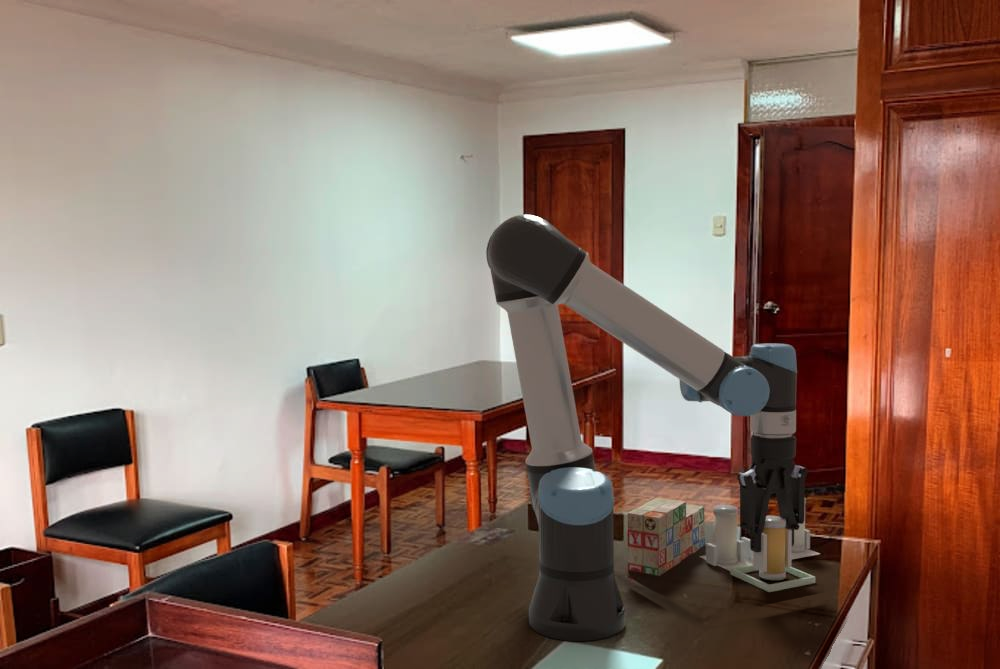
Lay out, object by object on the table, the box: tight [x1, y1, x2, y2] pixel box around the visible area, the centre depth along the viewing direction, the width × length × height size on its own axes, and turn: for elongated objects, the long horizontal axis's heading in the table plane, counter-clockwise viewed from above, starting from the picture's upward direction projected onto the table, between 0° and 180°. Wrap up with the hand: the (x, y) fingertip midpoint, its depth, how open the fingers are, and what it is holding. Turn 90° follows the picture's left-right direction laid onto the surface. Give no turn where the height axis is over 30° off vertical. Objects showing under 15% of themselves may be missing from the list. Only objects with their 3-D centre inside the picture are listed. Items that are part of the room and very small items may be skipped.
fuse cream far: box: [792, 497, 807, 553], centre depth 174 cm, size 4×4×10 cm
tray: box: [729, 564, 816, 593], centre depth 159 cm, size 10×10×2 cm
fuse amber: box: [758, 515, 787, 581], centre depth 158 cm, size 4×4×10 cm
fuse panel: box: [698, 528, 820, 572], centre depth 171 cm, size 22×9×5 cm, turn 114°
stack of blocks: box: [626, 497, 706, 580], centre depth 171 cm, size 21×6×12 cm, turn 146°
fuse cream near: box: [712, 504, 739, 565], centre depth 168 cm, size 4×4×10 cm
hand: (772, 566), depth 158 cm, fingers open, 5 cm apart
